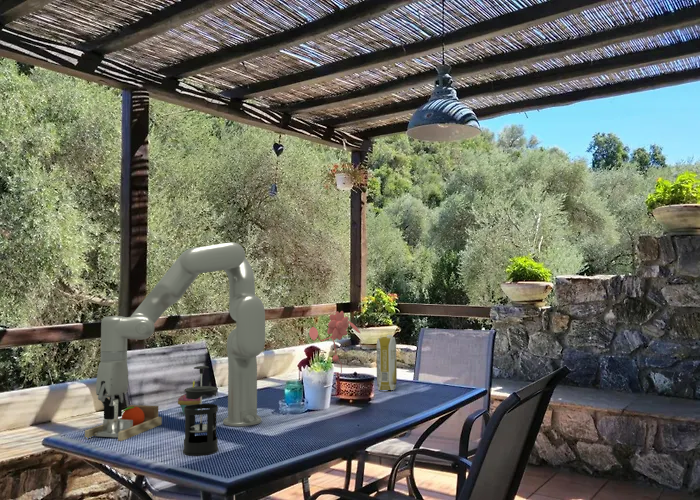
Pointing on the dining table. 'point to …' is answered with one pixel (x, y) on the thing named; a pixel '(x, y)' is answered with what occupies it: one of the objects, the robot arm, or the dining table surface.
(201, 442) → the french press
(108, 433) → the press jaw
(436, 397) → the dining table surface
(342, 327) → the pink artificial flower
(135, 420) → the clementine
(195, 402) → the cupcake
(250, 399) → the robot arm
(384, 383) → the juice carton
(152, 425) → the wooden tray
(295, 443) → the dining table surface
